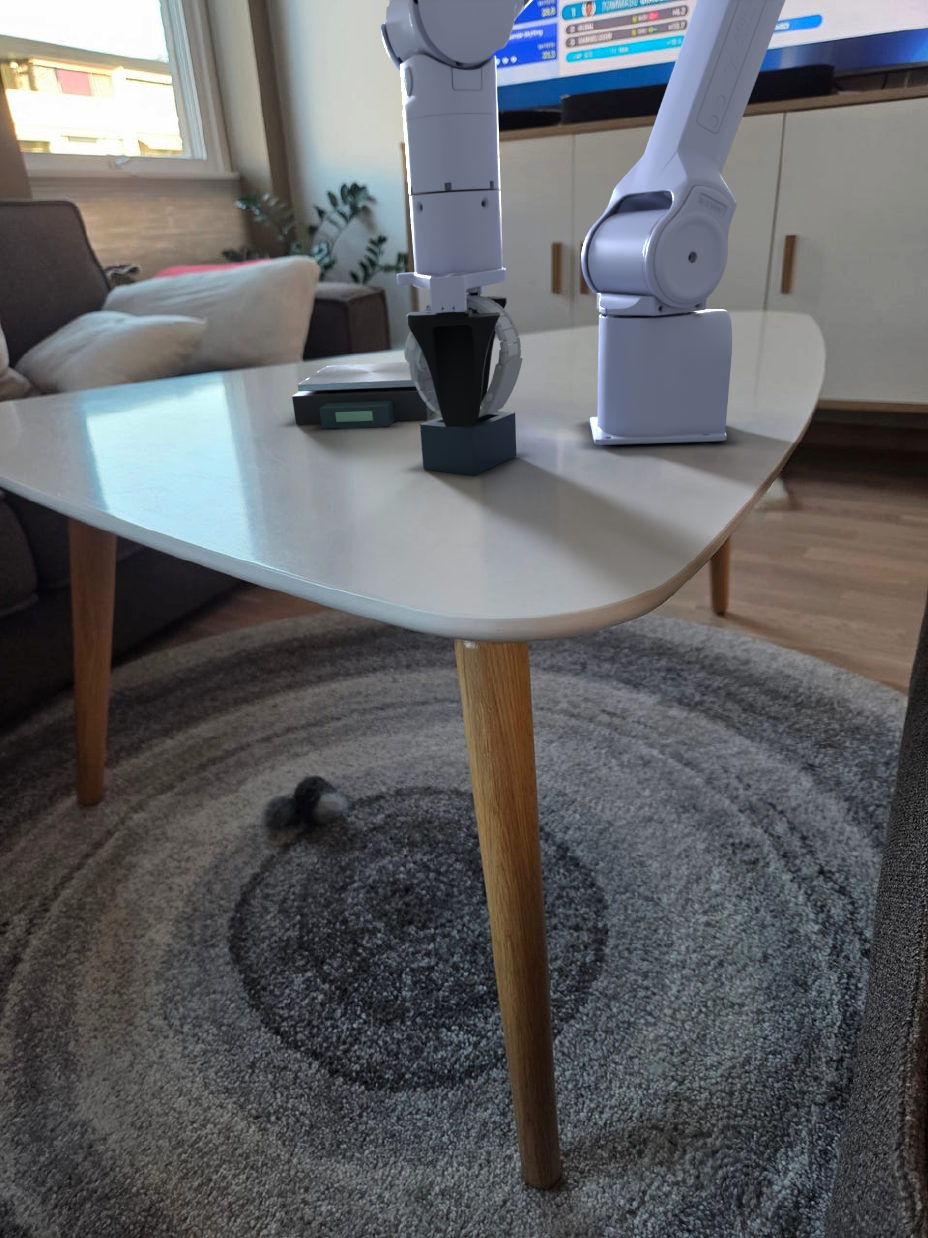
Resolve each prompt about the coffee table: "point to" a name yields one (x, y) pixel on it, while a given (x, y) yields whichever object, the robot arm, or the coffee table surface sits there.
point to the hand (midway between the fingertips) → (466, 413)
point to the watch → (494, 428)
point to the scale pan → (359, 377)
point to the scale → (359, 407)
